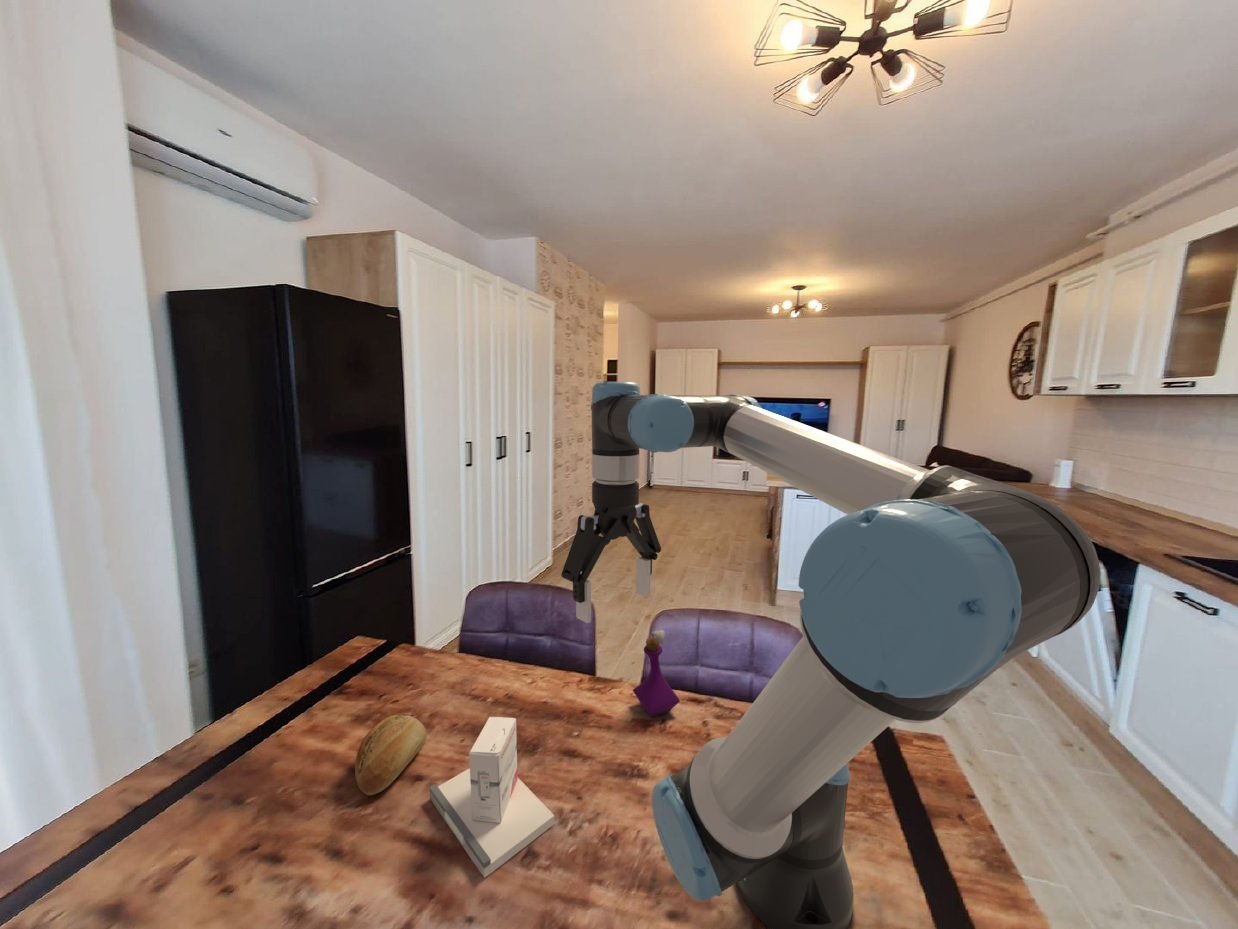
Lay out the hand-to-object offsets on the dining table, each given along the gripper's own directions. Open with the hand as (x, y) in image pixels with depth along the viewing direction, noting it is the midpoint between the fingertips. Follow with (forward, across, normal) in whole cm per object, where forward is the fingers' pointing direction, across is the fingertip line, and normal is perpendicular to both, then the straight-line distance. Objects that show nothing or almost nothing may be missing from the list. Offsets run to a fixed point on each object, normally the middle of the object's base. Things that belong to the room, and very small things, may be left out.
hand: (615, 606), depth 78 cm
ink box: (+30, +18, -9) cm, 36 cm away
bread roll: (+32, +27, -30) cm, 51 cm away
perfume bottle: (+32, -19, -7) cm, 38 cm away
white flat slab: (+32, +19, -9) cm, 38 cm away
